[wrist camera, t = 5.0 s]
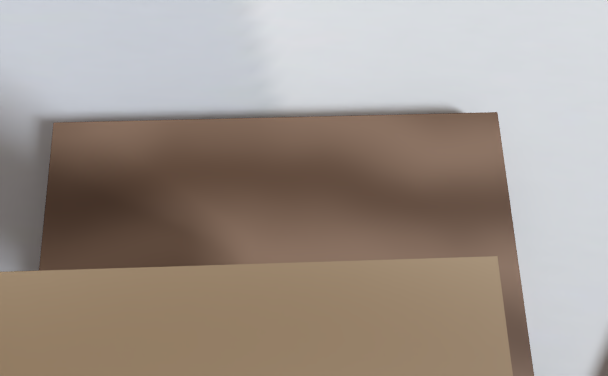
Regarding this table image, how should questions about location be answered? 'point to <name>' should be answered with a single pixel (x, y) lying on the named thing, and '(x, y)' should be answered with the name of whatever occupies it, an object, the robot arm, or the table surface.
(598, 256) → the table surface
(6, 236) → the table surface
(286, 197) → the board
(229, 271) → the block
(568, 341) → the table surface
